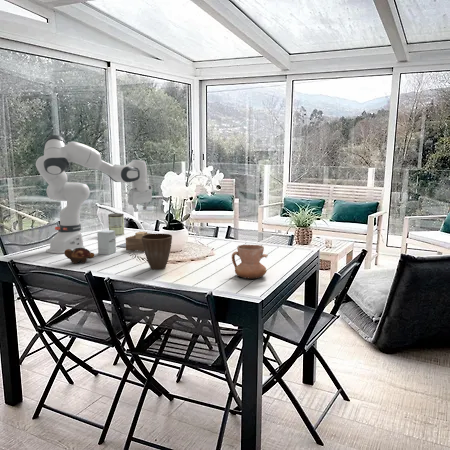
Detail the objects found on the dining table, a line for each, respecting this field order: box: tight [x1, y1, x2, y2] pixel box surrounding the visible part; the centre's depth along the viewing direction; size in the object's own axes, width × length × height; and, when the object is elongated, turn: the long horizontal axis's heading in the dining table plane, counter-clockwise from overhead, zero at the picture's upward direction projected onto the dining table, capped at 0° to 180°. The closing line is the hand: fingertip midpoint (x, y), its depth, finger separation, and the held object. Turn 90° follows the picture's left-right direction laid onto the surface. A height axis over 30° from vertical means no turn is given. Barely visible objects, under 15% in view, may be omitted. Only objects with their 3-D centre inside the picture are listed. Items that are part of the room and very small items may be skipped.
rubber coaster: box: [116, 242, 126, 249], centre depth 274 cm, size 9×9×1 cm
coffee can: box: [107, 212, 125, 237], centre depth 309 cm, size 10×10×14 cm
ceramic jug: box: [231, 244, 269, 280], centre depth 208 cm, size 18×14×14 cm
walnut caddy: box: [125, 232, 153, 252], centre depth 269 cm, size 18×14×7 cm
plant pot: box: [141, 233, 173, 271], centre depth 223 cm, size 15×15×16 cm
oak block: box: [134, 231, 148, 239], centre depth 269 cm, size 5×5×6 cm
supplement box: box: [96, 229, 117, 256], centre depth 255 cm, size 7×7×13 cm
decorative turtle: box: [63, 247, 95, 265], centre depth 234 cm, size 10×15×8 cm, turn 130°
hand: (140, 210), depth 266 cm, fingers open, 8 cm apart
